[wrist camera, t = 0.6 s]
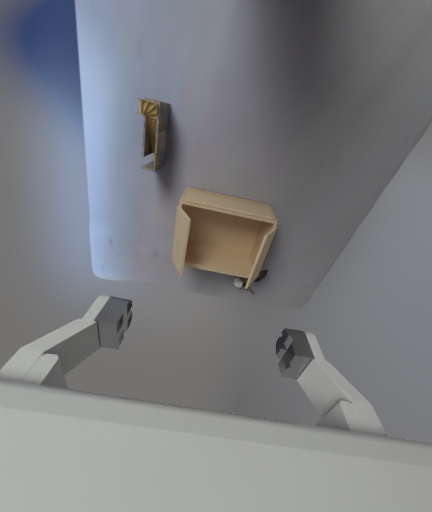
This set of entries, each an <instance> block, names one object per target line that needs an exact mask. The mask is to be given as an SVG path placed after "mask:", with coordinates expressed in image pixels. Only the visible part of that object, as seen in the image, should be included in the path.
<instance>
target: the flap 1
mask: <svg viewBox="0 0 432 512" xmlns="http://www.w3.org/2000/svg"><path fill="white" fill-rule="evenodd" d="M190 222H191V219H190V218H189V217H188V216H187V214H186V213H185V212H184V211H183V209H182V208H181V207H180V206H177V213H176V222H175V231H174V240H173V249H172V259H171V260H172V262H173V263H174V265H175V267H176V269H177V271H178V273H179V275H180V276H182V275H183V268H184V261H185V255H186V248H187V242H188V235H189V229H190Z"/></svg>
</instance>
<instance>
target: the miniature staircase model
mask: <svg viewBox="0 0 432 512" xmlns="http://www.w3.org/2000/svg"><path fill="white" fill-rule="evenodd" d="M137 99H139V98H137ZM146 100H147V101H146ZM153 102H154V103H153ZM169 112H170V104H168V103H164V102H161V101H157V100H153V99H148V98H145V100H142V99H140V106H139V112H137V113H140V114H143V116H144V132H143V154H142V156H143V157H145V156H147V155H149V154H151V153H153V161H151V162H149V163H148V164H146V165H144V166H142V169H146V170H149V171H153V172H155V171H157V170H158V169H159V168H161V167H162V166H163V165H164V163H165V153H166V143H167V132H168V122H169Z"/></svg>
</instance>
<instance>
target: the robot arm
mask: <svg viewBox="0 0 432 512" xmlns="http://www.w3.org/2000/svg"><path fill="white" fill-rule="evenodd" d="M131 307H132V301H131V300H126V299H121V298H117V297H111V296H106V295H100V296H99V297H98V298H97V299H96V301H95V302H94V303H93V305H92V306H91V307H90V309H89V310H88V311H87V313H86V314H85V315H84V317H83V318H82V319H77V320H75V321H73V322H71V323H69V324H67V325H65V326H63V327H61V328H59V329H57V330H55V331H53V332H51V333H49V334H47V335H46V336H43V337H42V338H39V339H37V340H36V341H34V342H32V343H30V344H28V345H26V346H24V347H22V348H20V349H19V350H18V352H17V353H16V354H15V355H14V356H13V357H12V358H11V359H10V360H9V361H8V362H7V363H6V364H5V366H4V367H3V368H2V369H1V370H0V512H432V443H426V442H420V441H413V440H406V439H400V438H393V437H388V436H387V434H386V433H385V431H384V429H383V427H382V425H381V423H380V421H379V419H378V417H377V415H376V413H375V411H374V409H373V407H372V405H371V404H370V403H369V402H368V401H367V400H366V399H365V398H364V397H363V396H362V395H361V394H360V393H359V392H358V391H357V390H356V389H355V388H354V387H353V386H352V385H351V384H350V383H349V382H348V381H347V380H346V379H345V378H344V377H343V376H342V375H341V374H340V373H339V372H338V371H337V370H336V369H335V368H334V367H333V366H332V365H331V364H330V363H329V362H327V361H325V359H324V356H323V354H322V352H321V349H320V347H319V345H318V342H317V340H316V338H315V335H314V334H313V333H310V332H304V331H299V330H292V329H287V328H285V329H284V330H283V331H282V336H281V337H279V338H278V340H277V342H276V354H277V357H278V358H279V359H280V362H279V368H280V373H281V376H283V377H288V378H293V379H297V381H298V382H299V384H300V385H301V387H302V388H303V390H304V391H305V393H306V394H307V396H308V397H309V398H310V400H311V401H312V403H313V404H314V406H315V407H316V409H317V410H318V412H319V413H320V414H321V416H322V417H323V418H322V419H321V420H319V421H318V422H317V423H316V425H315V426H312V425H305V424H299V423H292V422H285V421H279V420H272V419H265V418H259V417H252V416H245V415H239V414H232V413H225V412H218V411H212V410H205V409H198V408H192V407H185V406H178V405H172V404H165V403H157V402H151V401H144V400H138V399H131V398H124V397H118V396H111V395H104V394H98V393H91V392H84V391H78V390H70V389H68V387H67V384H66V381H65V377H64V375H66V374H67V373H68V372H69V371H71V370H72V369H73V368H75V367H76V366H77V365H79V364H80V363H81V362H82V361H84V360H85V359H86V358H87V357H89V356H90V355H91V354H92V353H94V352H95V351H96V350H98V349H99V348H100V347H106V348H113V349H118V348H119V346H120V344H121V342H122V340H123V338H124V332H125V331H127V330H128V328H129V326H130V323H131V319H132V311H131V310H130V309H131Z"/></svg>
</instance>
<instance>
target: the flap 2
mask: <svg viewBox="0 0 432 512" xmlns="http://www.w3.org/2000/svg"><path fill="white" fill-rule="evenodd" d="M277 228H278V227H274V228H273V229H272V230H270V231H269V232H268V233H267V234H266V235H265V236H264V238H263V241H262V244H261V246H260V249H259V252H258V254H257V257H256V260H255V262H254V265H253V268H252V270H251V273H250V276H249V278H248V281H247V283H246V286H245V288H246V289H247V288H248V287H249V286H250V285H251V284H252V282H253V281H254V280H255V279H256V278H257V277H258V274H259V272H260V269H261V267H262V265H263V262H264V260H265V257H266V255H267V252H268V250H269V247H270V245H271V242H272V240H273V237H274V235H275V233H276V230H277Z"/></svg>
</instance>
